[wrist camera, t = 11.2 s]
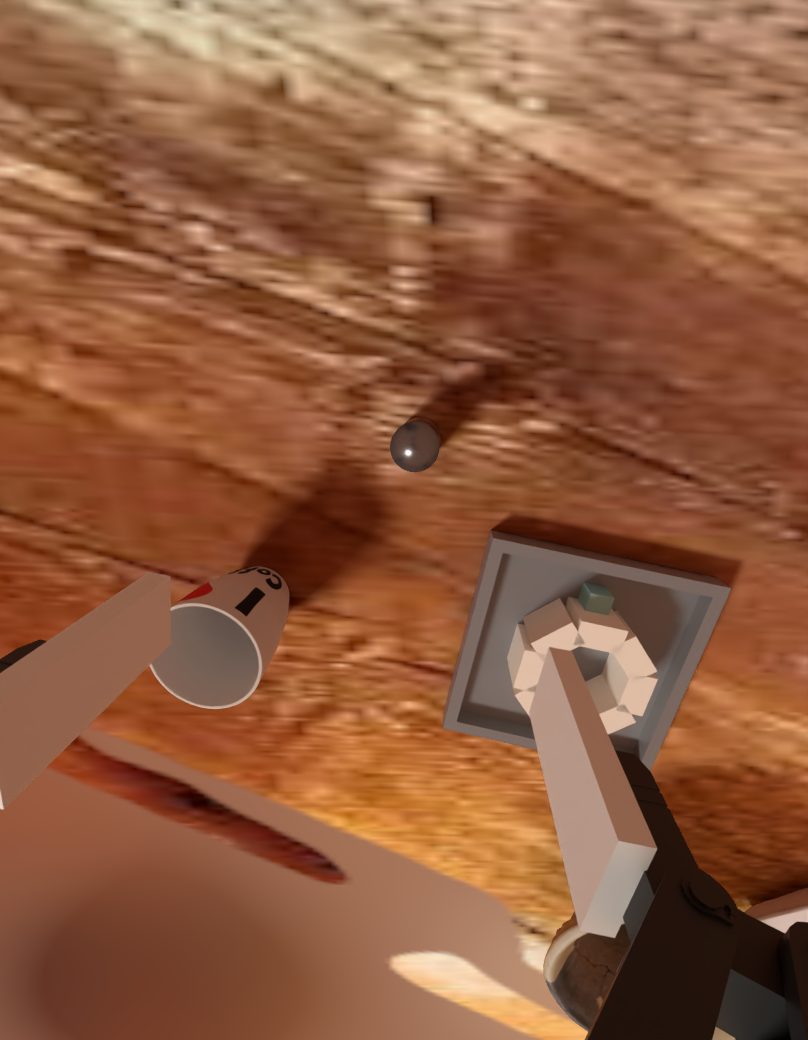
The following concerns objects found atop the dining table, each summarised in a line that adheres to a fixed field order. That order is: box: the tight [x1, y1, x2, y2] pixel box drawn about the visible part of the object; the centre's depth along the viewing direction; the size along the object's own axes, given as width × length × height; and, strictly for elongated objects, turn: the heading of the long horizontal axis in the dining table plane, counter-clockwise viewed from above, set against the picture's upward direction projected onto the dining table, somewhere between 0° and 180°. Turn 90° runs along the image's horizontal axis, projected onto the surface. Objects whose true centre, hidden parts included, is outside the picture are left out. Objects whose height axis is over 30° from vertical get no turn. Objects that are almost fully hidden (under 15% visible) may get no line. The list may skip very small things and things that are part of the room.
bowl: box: [543, 911, 735, 1040], centre depth 41 cm, size 18×18×10 cm
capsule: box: [390, 417, 441, 472], centre depth 32 cm, size 3×3×6 cm
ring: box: [507, 582, 658, 734], centre depth 36 cm, size 10×12×4 cm
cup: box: [150, 566, 289, 709], centre depth 35 cm, size 8×8×10 cm
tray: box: [443, 530, 732, 770], centre depth 38 cm, size 18×18×2 cm
